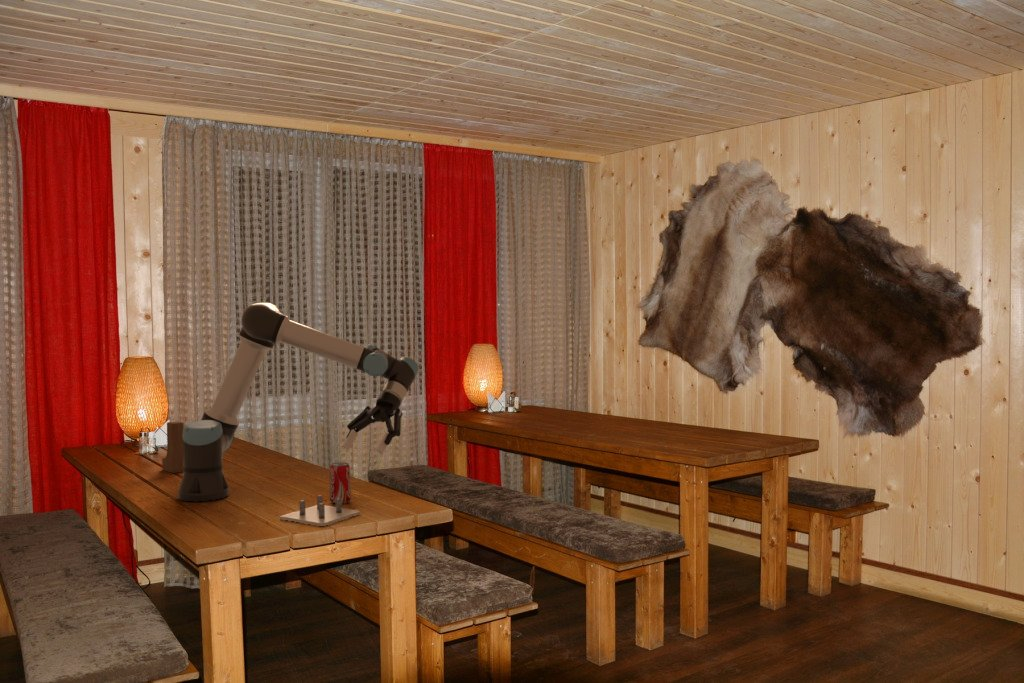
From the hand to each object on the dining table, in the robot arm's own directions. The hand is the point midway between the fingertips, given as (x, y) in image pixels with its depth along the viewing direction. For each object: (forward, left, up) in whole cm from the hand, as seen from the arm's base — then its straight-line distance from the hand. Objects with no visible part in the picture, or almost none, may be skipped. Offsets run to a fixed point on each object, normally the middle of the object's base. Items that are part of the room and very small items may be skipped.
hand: (362, 450), depth 271 cm
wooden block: (-81, -25, -15) cm, 86 cm away
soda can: (+3, -10, -15) cm, 18 cm away
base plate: (+14, -24, -15) cm, 31 cm away
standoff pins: (+14, -24, -15) cm, 31 cm away
